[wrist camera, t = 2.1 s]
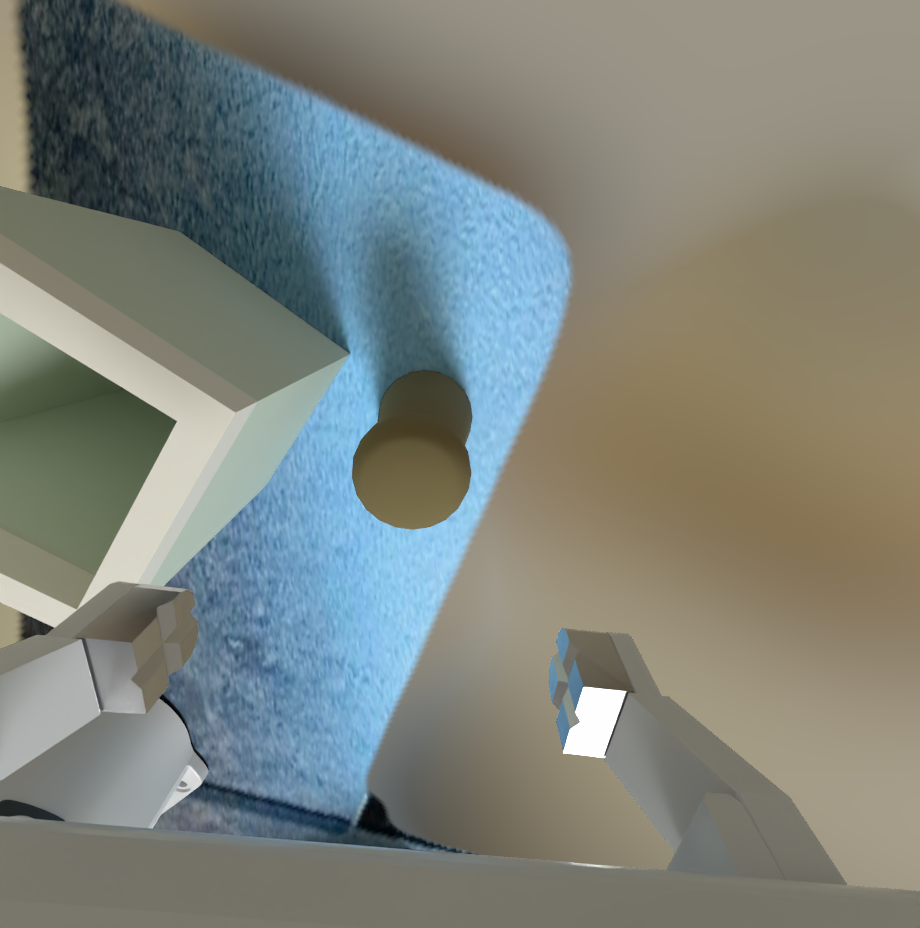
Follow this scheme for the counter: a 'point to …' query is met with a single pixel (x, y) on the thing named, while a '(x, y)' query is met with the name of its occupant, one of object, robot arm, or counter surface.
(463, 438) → the cork
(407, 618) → the counter surface
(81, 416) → the open top box
